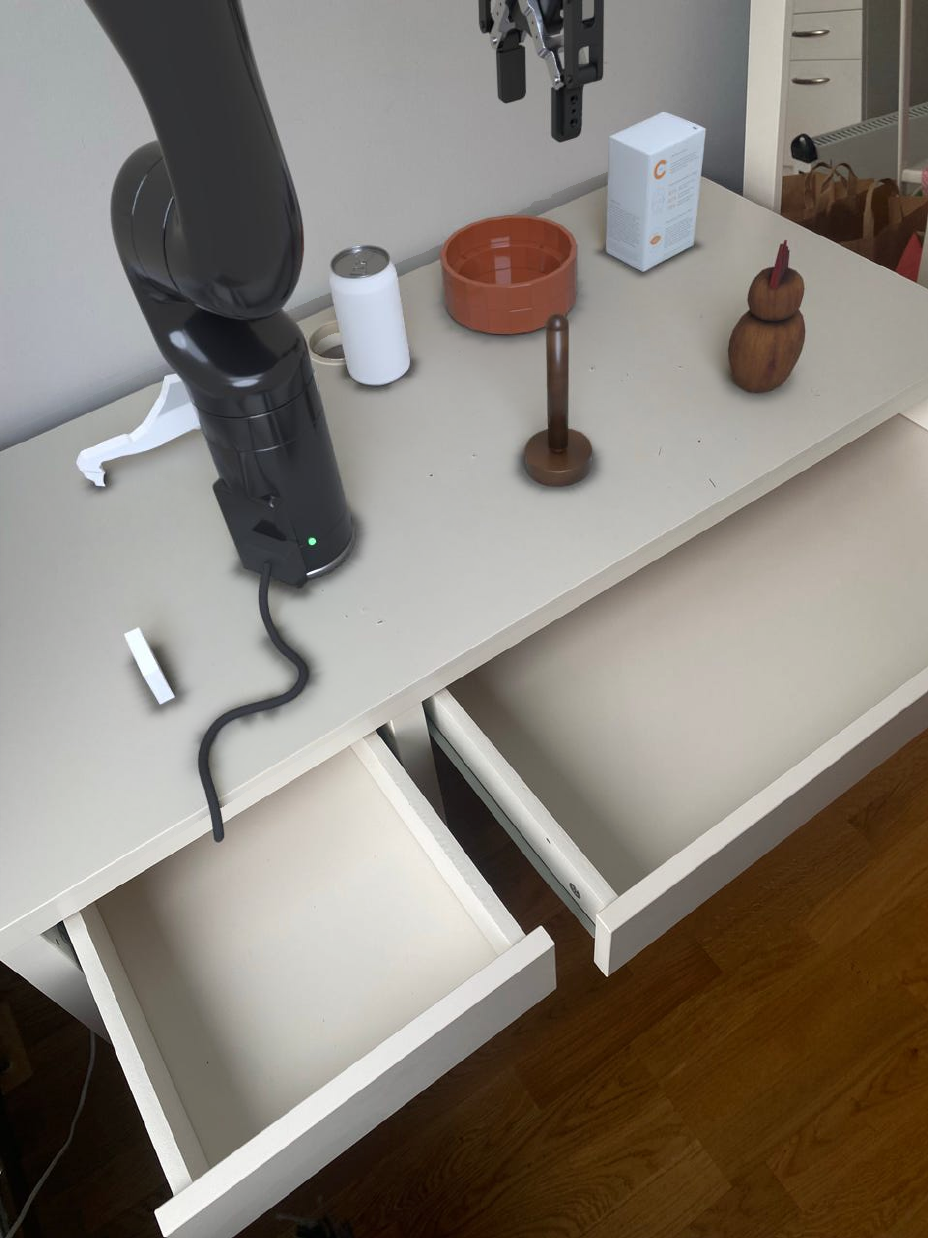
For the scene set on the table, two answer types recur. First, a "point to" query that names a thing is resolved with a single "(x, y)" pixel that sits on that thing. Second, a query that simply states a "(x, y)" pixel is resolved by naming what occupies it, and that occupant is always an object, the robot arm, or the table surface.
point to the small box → (653, 189)
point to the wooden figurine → (769, 328)
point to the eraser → (149, 665)
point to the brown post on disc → (558, 419)
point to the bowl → (509, 273)
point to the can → (369, 314)
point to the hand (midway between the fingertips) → (538, 118)
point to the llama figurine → (145, 430)
